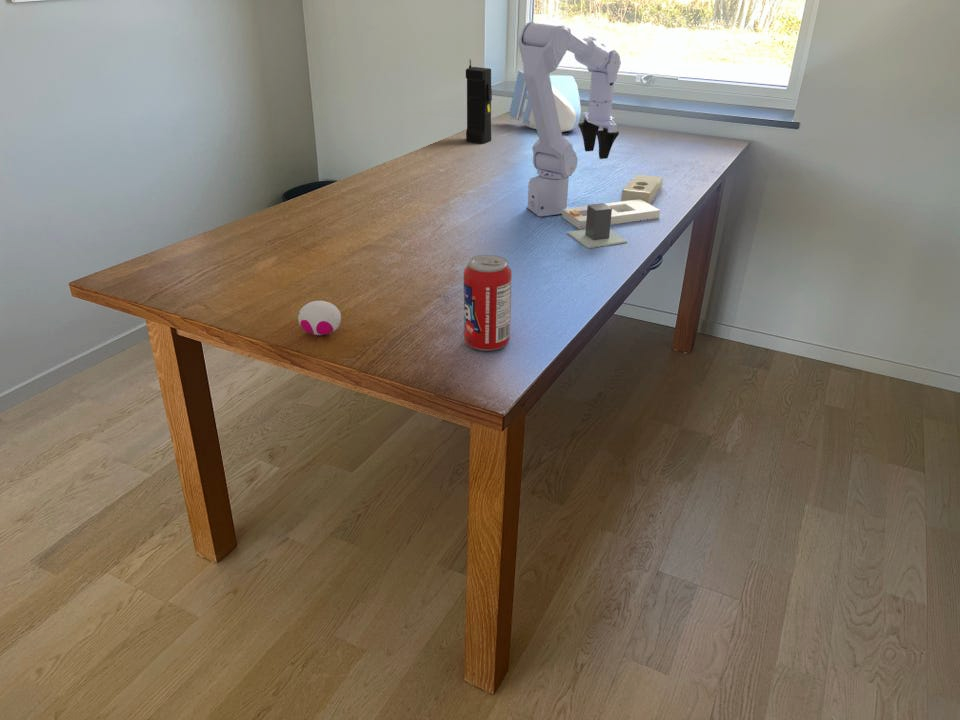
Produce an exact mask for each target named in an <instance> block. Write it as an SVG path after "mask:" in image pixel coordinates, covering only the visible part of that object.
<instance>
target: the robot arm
mask: <svg viewBox="0 0 960 720" xmlns="http://www.w3.org/2000/svg"><path fill="white" fill-rule="evenodd" d="M517 44H518V49H519V53H520V57H521V61H522V65H523V68H522V69H523V73H524V78H525V82H526V86H527V94H528V96H529V99H530V103H531V107H532V111H533V116H534V120H535V124H536V128H537V129H536V132H537V136H538V138H537V139H536V141H535V143H534V144H533V146H532V148H531V149H532V153H533V154H532V164H533V167H534V168H535V170H536V175H537V176H534V177H533V176H532V177H530V178H529V181H528V188H527V204H526V206H525V207H526V209H528V210H530V211H531V212H532V213H533V214H535V215H536V216H538V217H548V216H550V217H551V216H554V215H555V216H557V215H562V211H563V209H567V208H570V207H569V206H568V196H569V195H568V194H569V182H570V181H569V178H570V177H572V175H573V174H574V172H576V170H577V167H578V155H577V153H576V152H575V150H574V148H573V144H572V143H571V142H570V141H569V140H568V139H567V138H565V136H564V135H563V134H562V133H563V132H561V128H560V123H559V118H558V114H557V109H556V104H555V100H554V95H553V90H552V85H551V81H550V76H551V73H553V72H555V71H556V70H557V69H558V67H559V65H560V64H561V62H562V60H563V58H564V57H565V54H566V52H567V51H568V52H570V53H571V54H573V56H574V58H575V60H576V62H577V63H579V64H581V65H583V66H585V67H586V68H587V71H588V72H589V73H590V86H589V87H590V88H589V96H588V97H589V98H588V99H589V101H588V111H587V112H581V121H583V122H579V123H578V127H579V130H580V132H581V136H582V140H583V146H584V151H585V152H594V149H595V146H596V139H597V142H598V157H599V158H598V159H600V160H604V159H608V157H609V156H610V152H611V149H612V146H613V144H614V143H615V141H616V139H617V137H618V136H619V133H620V131H618V129H617V128H618V124H617V123H615V117H613V116H612V107H613V97H614V96H613V95H614V84H615V82H616V80H617V76H618V72H619V70H620V68H621V63H622V61H621V56H620V54H619V53H618V51H616V50H615V49H608V48H607V47H606V44H604V43H599V42H597V38H596V37H594V36H588V37H584V38H581V37H580V36H578V35H577V34H575V33H574V32H573V31H572V28H571V27H568V26H567V27H566V25H564V24H563V25H562V24H560V25H559V24H558V25H555V24H546V23H545V24H544V23H535V22H533V21H529V22H527V23H526V24H525V25H524V26H523V28H522V30H521V33H520V36H519V38H518V41H517ZM600 128H601V129H602V130H599V129H600Z"/></svg>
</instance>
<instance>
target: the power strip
mask: <svg viewBox="0 0 960 720" xmlns="http://www.w3.org/2000/svg"><path fill="white" fill-rule="evenodd" d="M605 204H606V205H607V206H609V207H610V208H612V214H611V224H610V226H612V225H618V224H624V223H625V224H626V223H633V221H634V222H639V221H640V220H641V221H648V220H654V219H659V218H660V214H661V209H659V208H657V207H655V206H653V205H652V204H648V203H647V202H645V201H643V200H641V199H637V200H629V201H621V200H620V201H615V202H607V203H605ZM587 207H588V205H584V206H577V207H576V206H575V207H569V208H567V209H563V211H562V214H561V217H562V218H563V219H564V220H566V221H567V222H569V223H570V224H571V225H573V227H576V228H577V229H578V230H584V229H586V220H587ZM647 219H648V220H647ZM641 221H640V222H641Z"/></svg>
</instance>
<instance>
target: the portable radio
mask: <svg viewBox="0 0 960 720" xmlns="http://www.w3.org/2000/svg"><path fill="white" fill-rule="evenodd" d="M465 79H466V131H465V132H466V133H465V141H466V142H467V143H476V144H482V143H483V144H485V143H488V142H491V141H492V100H493V97H492V96H493V92H492V69H491V68H490V67H489V68H488V67H487V68H486V67H478V66H472V60H469V66H468V68H466V69H465Z"/></svg>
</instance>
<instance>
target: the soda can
mask: <svg viewBox="0 0 960 720" xmlns="http://www.w3.org/2000/svg"><path fill="white" fill-rule="evenodd" d="M508 262H509V261H508V260H507V259H506V258H504V257H501V256H498V255H492V254H482V255H477V256H473V257H471V258H470V259H469V260H467V265H466V267H465V268H464V269H463V339H464V342H465V344H466V345H468V346H469V347H471V348H472V349H475V350H478V351H484V352H490V351H496V350H499V349H502V348H504V347H505V346H506V345H507V344H509V342H510V339H511V314H512V313H511V311H512V310H511V309H512V307H511V306H512V277H513V276H512V269H511V268H510V266H509V265H508V264H509V263H508Z"/></svg>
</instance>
